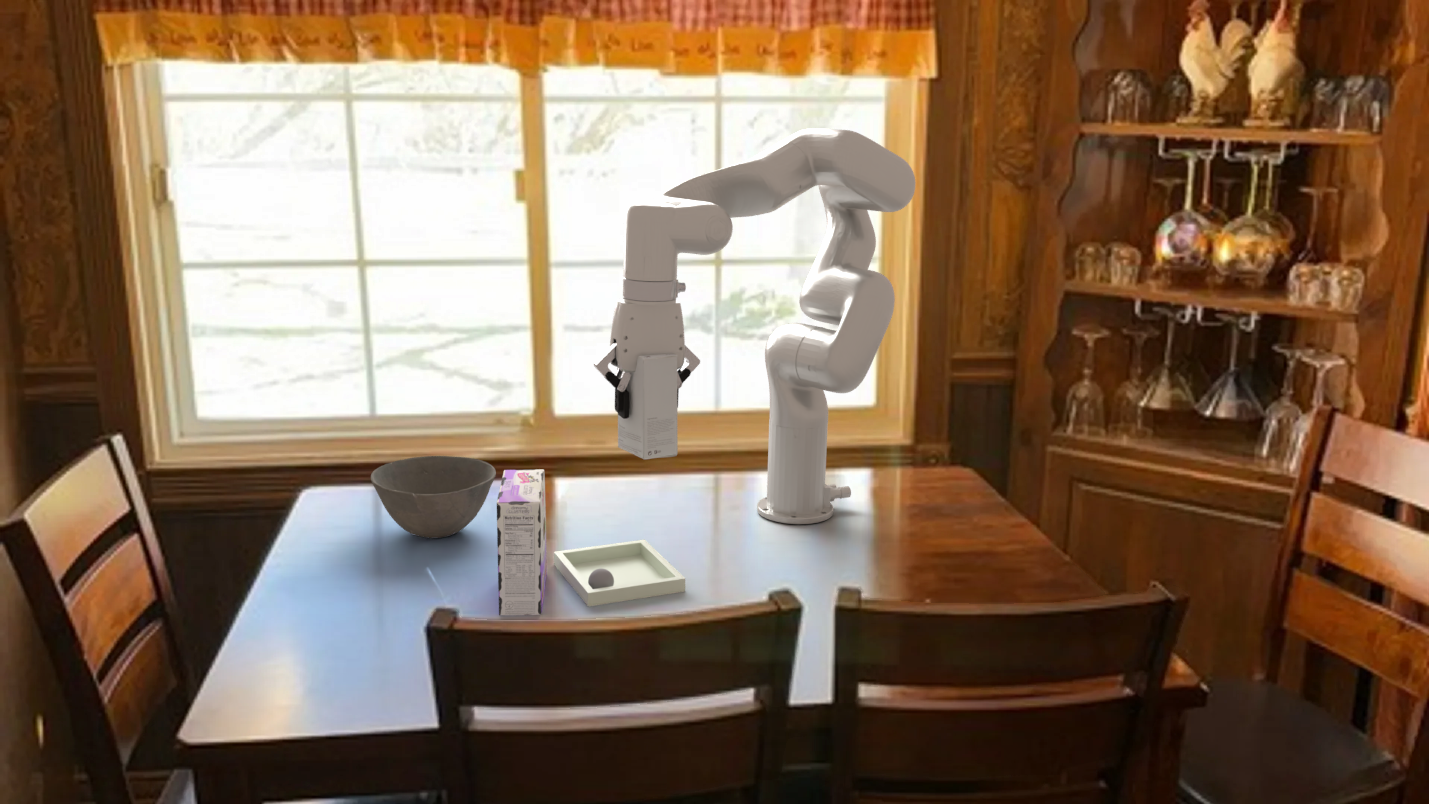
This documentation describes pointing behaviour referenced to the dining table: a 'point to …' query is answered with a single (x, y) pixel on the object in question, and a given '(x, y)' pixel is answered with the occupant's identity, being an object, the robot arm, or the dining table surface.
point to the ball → (600, 579)
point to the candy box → (521, 542)
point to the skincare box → (651, 409)
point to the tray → (619, 572)
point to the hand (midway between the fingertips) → (646, 413)
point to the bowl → (433, 492)
